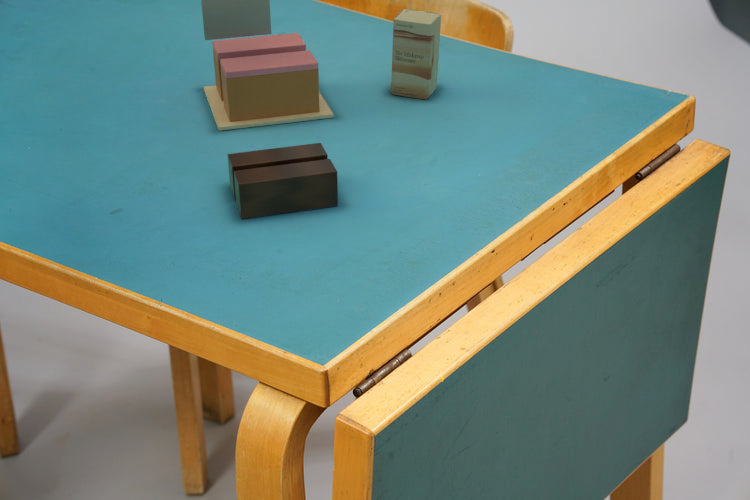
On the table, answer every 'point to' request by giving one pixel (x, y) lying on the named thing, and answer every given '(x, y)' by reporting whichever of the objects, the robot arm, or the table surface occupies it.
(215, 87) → the pink slotted holder
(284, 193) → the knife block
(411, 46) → the cosmetic box
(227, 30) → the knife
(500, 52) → the table surface
